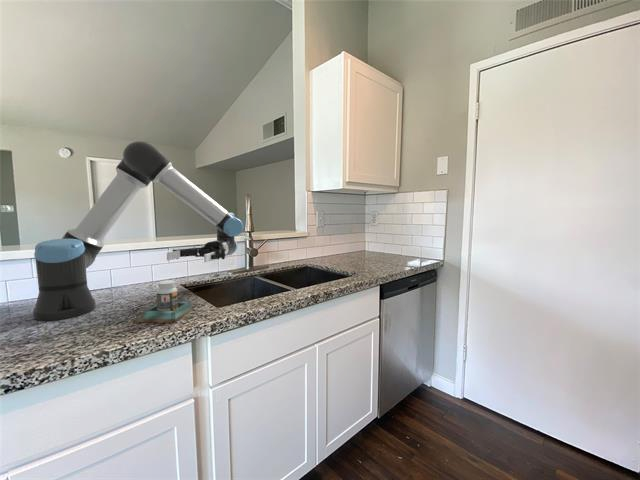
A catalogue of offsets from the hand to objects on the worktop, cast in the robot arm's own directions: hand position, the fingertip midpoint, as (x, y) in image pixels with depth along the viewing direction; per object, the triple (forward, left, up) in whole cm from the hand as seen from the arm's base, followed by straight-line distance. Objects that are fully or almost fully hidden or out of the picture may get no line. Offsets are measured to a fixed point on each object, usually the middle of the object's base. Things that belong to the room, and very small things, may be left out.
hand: (186, 257), depth 98 cm
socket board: (-3, -10, -17) cm, 20 cm away
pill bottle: (-2, -10, -16) cm, 19 cm away
